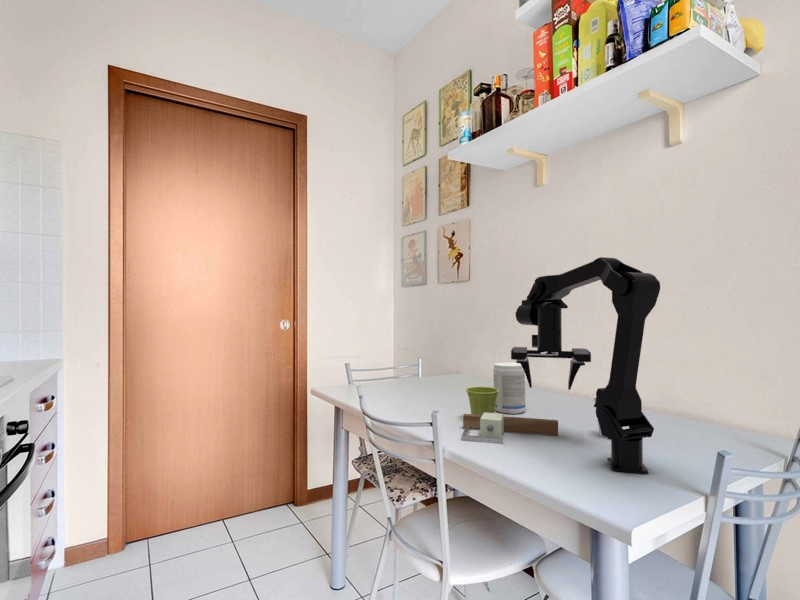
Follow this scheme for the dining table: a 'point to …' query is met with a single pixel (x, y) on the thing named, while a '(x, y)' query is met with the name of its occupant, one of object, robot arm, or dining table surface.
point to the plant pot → (482, 399)
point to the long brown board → (517, 425)
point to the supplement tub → (509, 387)
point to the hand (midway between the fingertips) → (549, 388)
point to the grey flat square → (479, 437)
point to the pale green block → (492, 425)
